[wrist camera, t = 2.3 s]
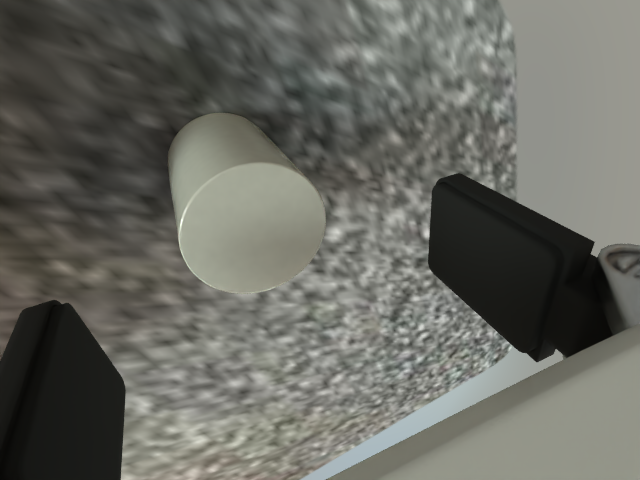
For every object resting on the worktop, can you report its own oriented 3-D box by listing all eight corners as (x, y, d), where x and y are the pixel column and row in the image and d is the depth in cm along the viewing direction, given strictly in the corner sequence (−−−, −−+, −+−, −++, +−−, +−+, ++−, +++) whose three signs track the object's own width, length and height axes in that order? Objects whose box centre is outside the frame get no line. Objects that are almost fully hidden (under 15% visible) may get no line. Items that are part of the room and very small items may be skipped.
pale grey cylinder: (149, 126, 14) (153, 188, 9) (262, 101, 15) (317, 145, 10) (187, 224, 16) (205, 313, 12) (281, 197, 17) (333, 267, 13)
